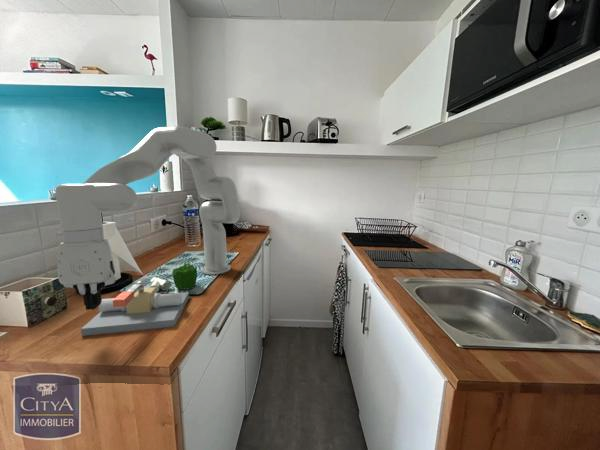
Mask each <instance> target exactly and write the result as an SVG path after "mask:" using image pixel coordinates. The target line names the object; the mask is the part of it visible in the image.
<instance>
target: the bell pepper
mask: <svg viewBox="0 0 600 450" xmlns="http://www.w3.org/2000/svg"><path fill="white" fill-rule="evenodd" d="M197 278H198V270H197V268H196V267H194V265H193V264H191V263H189V262H186V263H185V262H184V264H183V265H180V266H179V267H176V268H173V270H172V279H173V280H172V281H173V283H174V285H175V287H176V289H177V290H180V291H183V290H191V289H194V288H195V286H196V284H197V280H198V279H197Z"/></svg>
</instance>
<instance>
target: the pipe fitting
mask: <svg viewBox="0 0 600 450" xmlns="http://www.w3.org/2000/svg"><path fill="white" fill-rule="evenodd" d="M149 283H150V286H149V287H148V288H153V287H156V293H159V291H160V290H162V291H168V289H169V290H170V289H171V288H172V281H170V280H166V279H162V278H161V277H158V276H153V277H152V278H151V279H150V280H149Z"/></svg>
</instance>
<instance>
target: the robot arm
mask: <svg viewBox="0 0 600 450" xmlns="http://www.w3.org/2000/svg"><path fill="white" fill-rule="evenodd" d="M216 153H217V142H216V140H215V139H214V137H212V136H211V134H209V133H207V132H203V131H200V130H197V129H193V128H190V127H186V126H182V125H176V126H175V125H173V126H161V127H157V128H156V127H155V128H154V129H152V130H151V131H150V132H149V133H148V134H146V136H144V138H143V139H142V140H140V142H139V143H137V145H135V147H133V148H132V149H131V150H130V151H128V153H126V154H124V155H122V156H120V157H119V158H116V159H115V160H113V161H111V162H109V163H107V164H106V165H104V166H102V167H101V168H99V169H97V170H96V171H95V172H94V173H93V174H91V175H90V176H89V177H88V178H87V179H86V180H85V181H84V182H83V183H61V184H59V185H57V186H56V187H55V189H54V191H55V197H56V198H55V199H56V205H57V211H58V217H59V225H60V231H57V232H56V233H55V236H56V238H60V239H61V240H62V242H60V243H59V244H58V246H57V247H58V248H57V255H56V267H57V268H56V269H57V279H58V281H59V283H60V284H61V285H63V287H65V288H72V289H74V290H76V291H77V292H79V294H80V295H81V296H82V298H83V305H84V306H85V310H86V311H89V310H95V309H96V308H99V305H100V304H101V302H102V299H103V298H102V293H101V290H102V289H103V288H104V287H106V286H109V285H113V284H115V282H116V281H117V279H116V276H115V274H116V265H115V259H114V255H113V252H112V249H111V245H110V242H109V241H108V239H106V238H105V233H104V228H103V226H104V225H103V216H102V213H105V212H106V213H123V212H128V211H130V210H131V209H132V208H134V207H135V206H136V204H137V202H138V195H137V193H136V191H135V190H134V189H133V188H132V187H131V186H129V184H130V183H134V182H136V181H140V180H144V179H147V178H150V177H151V176H154V175H156V174H157V173H158V171H160V169H161V168H162V167H163V166H164V164H166V162H167V161H168V160H169V159H170V158H171V156H173V155H175V156H177V157H179V158H180V159H181V160H183V161H184V162H185V163H187V165H188V166H189V168H190V170H191V173H192V177H193V181H194V184H195V187H196V190H197V193H198V196H199V197H200V198H202V199H205V200H207V201H204V202H203V203H201V205H200V206H199V209H198V212H199V213H198V214H199V218H200V222H201V226H202V233H203V250H204V251H203V253H204V256H203V257H204V266H203V267H202V268H201V273H203V274H205V275H210V276H211V275H212V276H213V275H215V274H216V275H221V274H226V273H227V272H230V271H231V269H232V268H231V267H232V266H231V265H230V264H228V258H227V256H228V252H227V233H226V228H225V227H224V224H235V223H237V222H238V221H239V220H240V217H241V208H240V202H239V198H238V191H237V186H236V184H235V182H234V180H233V179H231V177H229V176H226V175H225V176H222V175H218V176H217V175H216V172H215V168H214V164H213V162H212V160H211V158H212V157H214V156H215V154H216Z"/></svg>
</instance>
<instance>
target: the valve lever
mask: <svg viewBox="0 0 600 450" xmlns="http://www.w3.org/2000/svg"><path fill="white" fill-rule="evenodd" d="M147 285H148V281H147V279H145V278H143V279H142V278H141V279H137V280H134V281H133V284H132V285H131V286H130V287H129V288H128V289H127V290H126V291H121V292H120V293H119V294H118V295H117V296H115V299H114V300H113V307H121V306H126V305H127V304H128V303H129V302H130V301H131V300H132V299H133V298H134V294H135V293H136V292H137V291H138V292H143V291H144V288H146V286H147Z"/></svg>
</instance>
